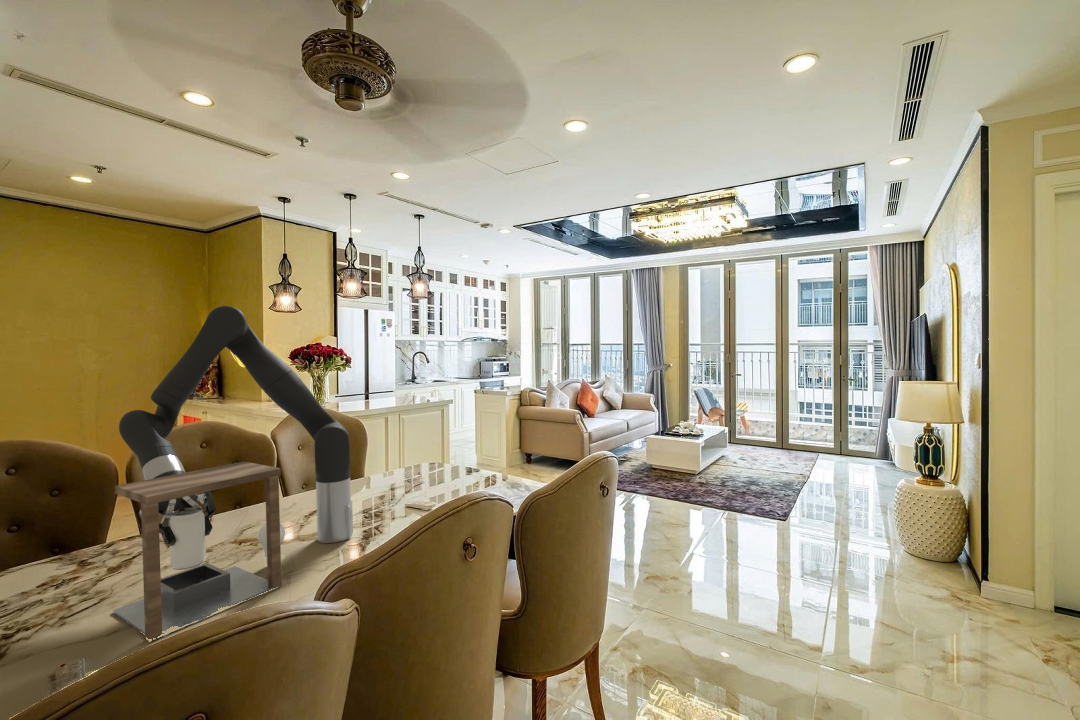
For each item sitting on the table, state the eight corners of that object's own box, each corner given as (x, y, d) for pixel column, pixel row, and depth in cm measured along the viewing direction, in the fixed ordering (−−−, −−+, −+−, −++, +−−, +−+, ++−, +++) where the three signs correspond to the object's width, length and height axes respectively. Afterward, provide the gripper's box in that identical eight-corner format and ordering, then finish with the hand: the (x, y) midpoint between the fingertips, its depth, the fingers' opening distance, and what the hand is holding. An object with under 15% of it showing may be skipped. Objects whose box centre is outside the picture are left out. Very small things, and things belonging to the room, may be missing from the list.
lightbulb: (291, 562, 124) (290, 519, 124) (271, 572, 119) (270, 528, 119) (273, 559, 126) (272, 517, 126) (252, 569, 121) (251, 525, 120)
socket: (113, 612, 101) (112, 594, 101) (235, 568, 121) (234, 552, 121) (152, 641, 90) (152, 620, 90) (279, 587, 111) (278, 570, 111)
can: (187, 571, 105) (185, 516, 105) (162, 569, 106) (161, 515, 106) (212, 559, 111) (211, 507, 111) (189, 557, 112) (188, 506, 112)
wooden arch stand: (119, 620, 98) (114, 486, 98) (247, 572, 119) (244, 461, 119) (151, 644, 89) (147, 496, 89) (284, 587, 111) (280, 468, 110)
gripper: (132, 476, 106) (156, 540, 100) (205, 463, 118) (231, 519, 112) (124, 496, 109) (147, 559, 103) (196, 481, 121) (220, 537, 115)
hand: (191, 538), depth 108 cm, fingers closed on can, 6 cm apart
